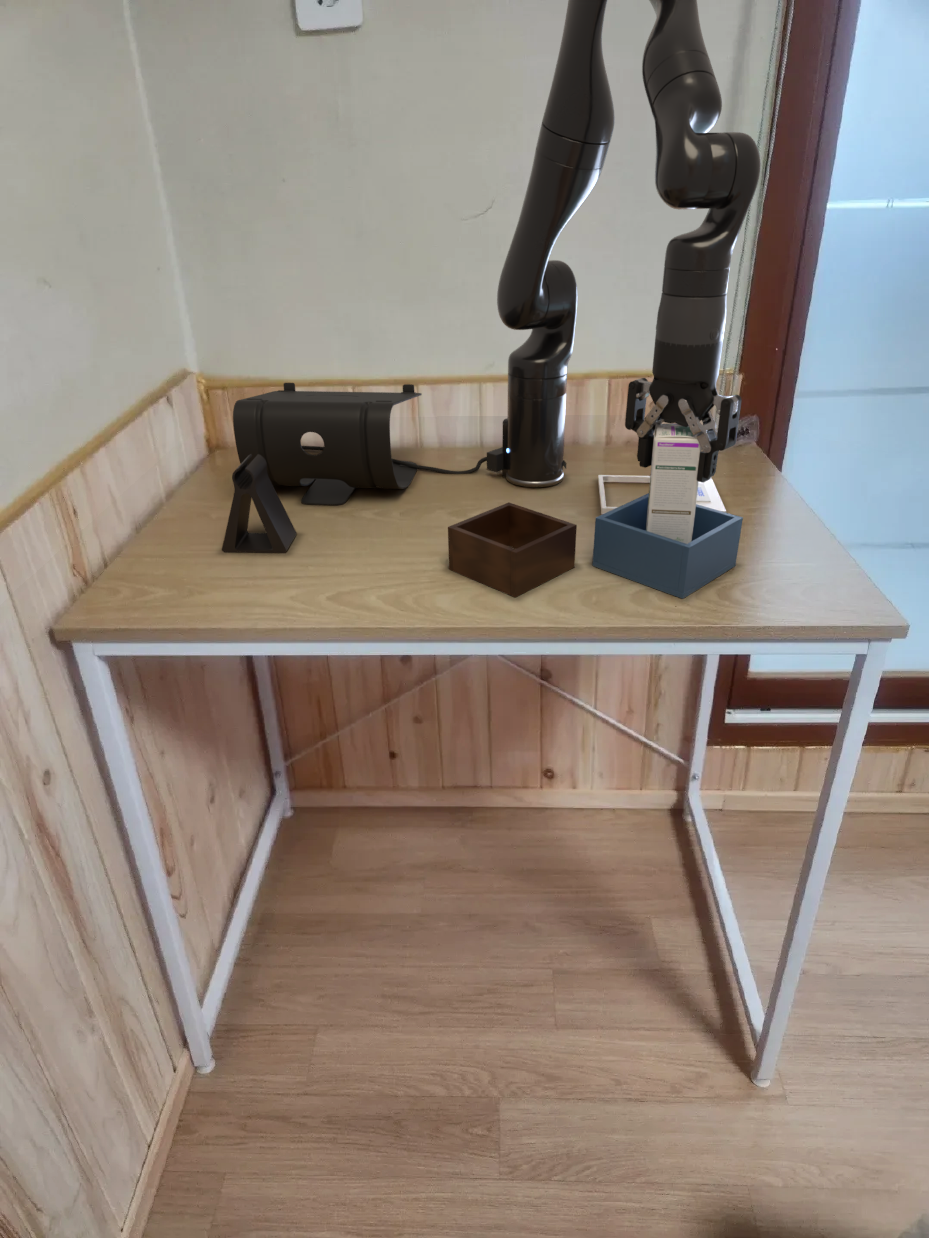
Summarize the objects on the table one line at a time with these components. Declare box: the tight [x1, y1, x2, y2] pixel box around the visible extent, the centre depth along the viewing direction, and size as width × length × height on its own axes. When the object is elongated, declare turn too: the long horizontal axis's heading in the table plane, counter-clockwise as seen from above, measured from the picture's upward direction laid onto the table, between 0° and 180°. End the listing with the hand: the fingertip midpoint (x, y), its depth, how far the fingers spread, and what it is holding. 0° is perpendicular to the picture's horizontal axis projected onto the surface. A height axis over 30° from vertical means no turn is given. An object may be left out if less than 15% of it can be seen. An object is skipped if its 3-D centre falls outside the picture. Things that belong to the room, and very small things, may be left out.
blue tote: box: [591, 492, 744, 600], centre depth 108 cm, size 14×13×7 cm
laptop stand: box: [232, 382, 422, 506], centre depth 136 cm, size 26×24×16 cm
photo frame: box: [597, 474, 727, 515], centre depth 131 cm, size 15×1×18 cm
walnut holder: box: [447, 502, 578, 598], centre depth 108 cm, size 12×12×6 cm
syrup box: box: [646, 423, 702, 544], centre depth 105 cm, size 6×6×14 cm
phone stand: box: [221, 454, 298, 554], centre depth 115 cm, size 9×6×12 cm, turn 86°
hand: (674, 472), depth 104 cm, fingers closed on syrup box, 7 cm apart
